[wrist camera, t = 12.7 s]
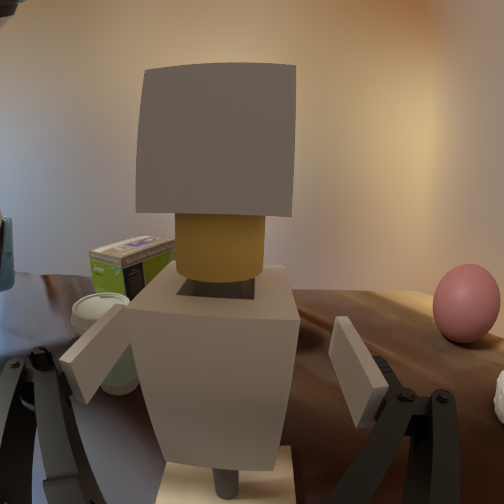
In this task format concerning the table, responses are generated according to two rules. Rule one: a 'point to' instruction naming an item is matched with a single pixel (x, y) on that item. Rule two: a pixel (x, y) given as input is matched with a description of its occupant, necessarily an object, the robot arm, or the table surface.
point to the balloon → (466, 303)
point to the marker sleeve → (216, 368)
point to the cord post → (217, 171)
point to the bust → (499, 398)
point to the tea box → (130, 264)
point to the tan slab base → (249, 491)
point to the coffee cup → (124, 370)
